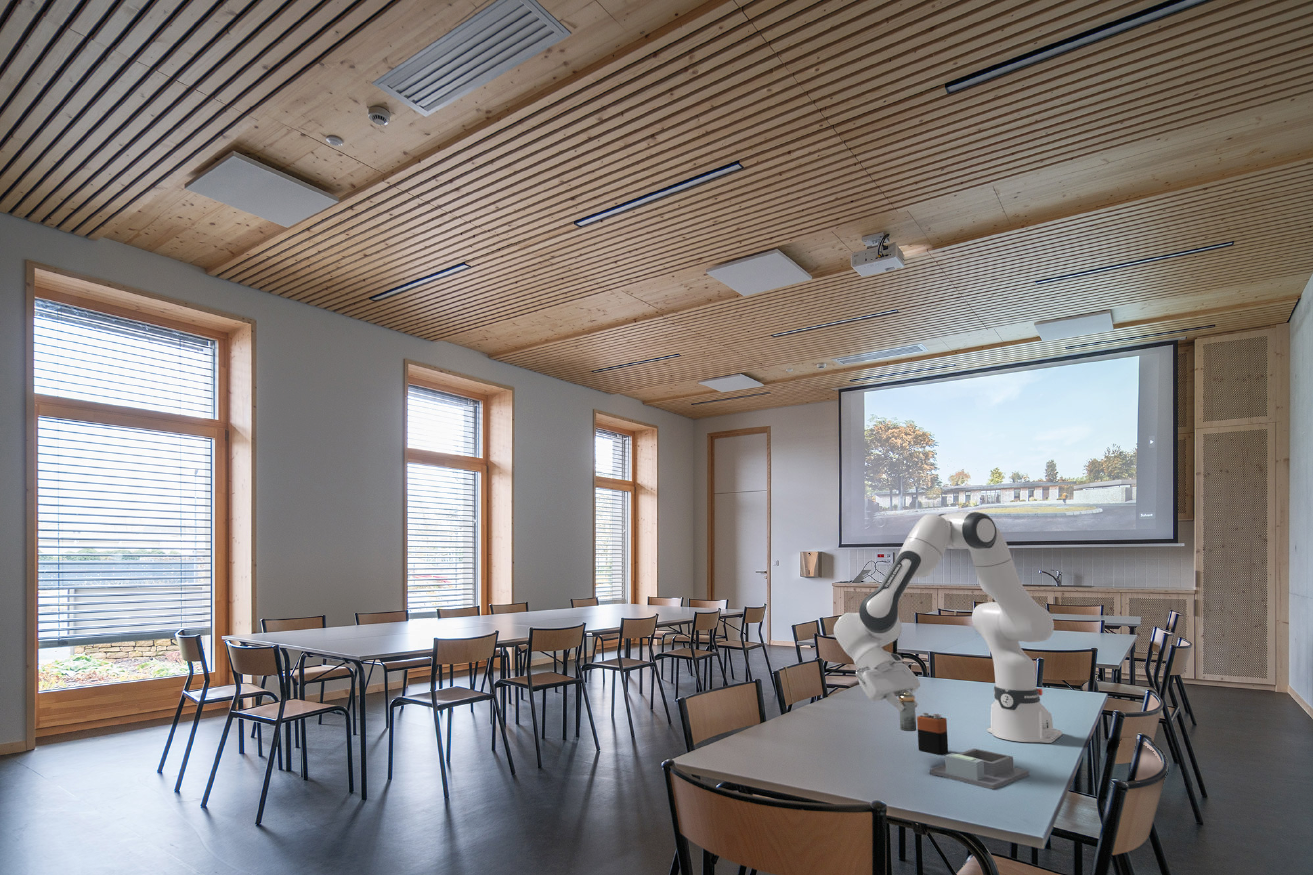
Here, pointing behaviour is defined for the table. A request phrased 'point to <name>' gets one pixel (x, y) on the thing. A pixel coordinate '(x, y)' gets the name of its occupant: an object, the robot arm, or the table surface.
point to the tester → (980, 768)
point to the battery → (932, 733)
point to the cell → (907, 712)
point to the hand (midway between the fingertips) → (909, 708)
